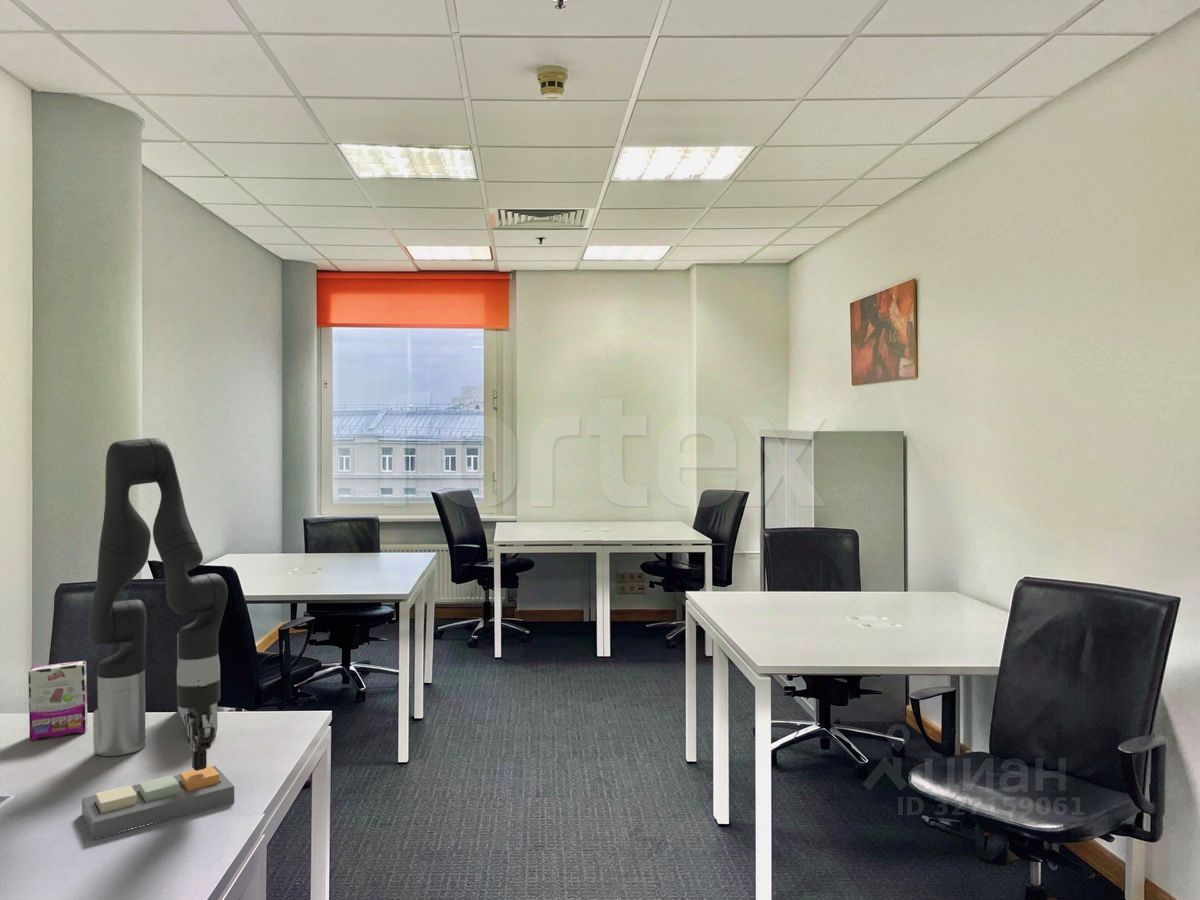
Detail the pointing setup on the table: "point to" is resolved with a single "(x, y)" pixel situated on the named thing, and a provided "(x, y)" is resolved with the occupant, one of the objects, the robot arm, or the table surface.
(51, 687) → the candy bar box
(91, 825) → the keypad
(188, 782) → the orange key
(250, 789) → the table surface
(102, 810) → the beige key
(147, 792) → the sage key
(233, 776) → the table surface
